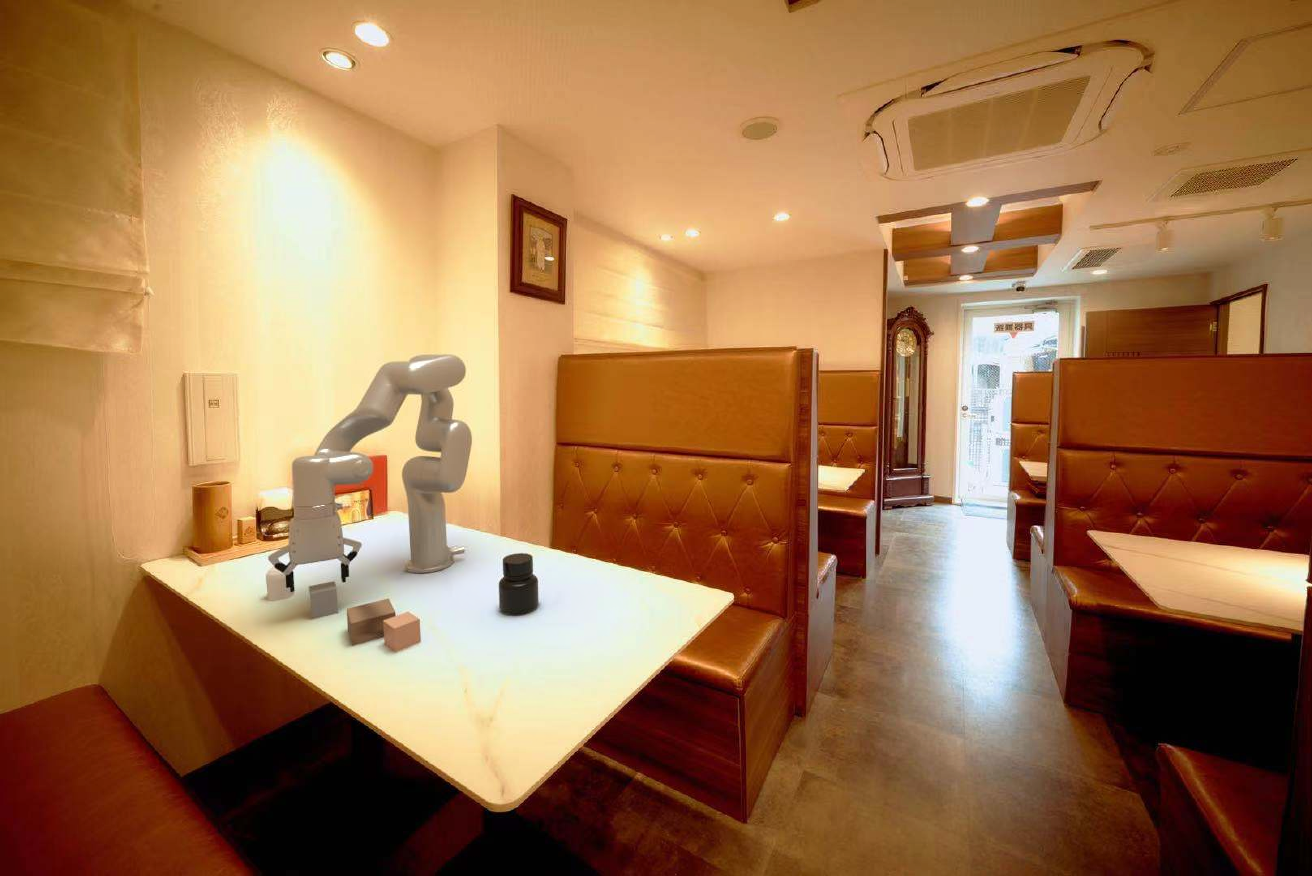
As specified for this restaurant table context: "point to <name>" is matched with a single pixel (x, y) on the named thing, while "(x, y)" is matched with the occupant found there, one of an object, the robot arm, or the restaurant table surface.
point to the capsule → (277, 585)
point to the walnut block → (368, 620)
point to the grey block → (323, 599)
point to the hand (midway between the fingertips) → (318, 585)
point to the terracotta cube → (401, 631)
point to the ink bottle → (518, 585)
